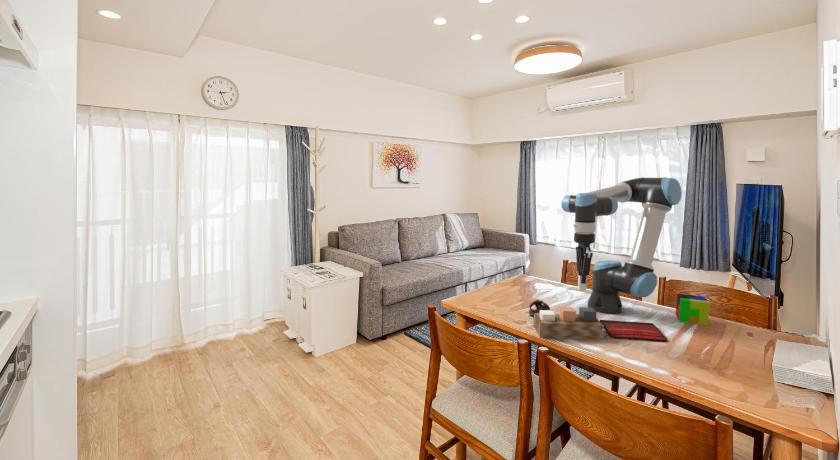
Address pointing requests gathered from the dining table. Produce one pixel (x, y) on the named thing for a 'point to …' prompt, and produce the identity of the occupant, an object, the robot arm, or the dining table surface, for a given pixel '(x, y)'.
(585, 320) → the dark grey block
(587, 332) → the key block
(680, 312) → the puzzle toy
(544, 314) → the white block
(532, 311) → the pottery mug
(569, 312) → the salmon orange block
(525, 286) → the dining table surface
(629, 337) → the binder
